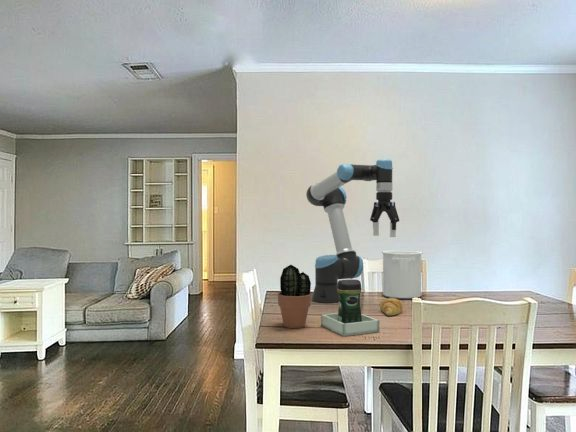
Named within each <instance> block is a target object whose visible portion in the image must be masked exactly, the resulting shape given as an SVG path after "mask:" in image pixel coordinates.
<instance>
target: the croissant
mask: <svg viewBox="0 0 576 432" xmlns="http://www.w3.org/2000/svg"><path fill="white" fill-rule="evenodd" d="M379 308H380V310H381V312H383V313H384V314H385V315H386V316H389V317H390V316H396V315H399V314H402V311H403V305H402V301H400V299H396V298H386V299H384V300H382V301H381V303H379Z"/></svg>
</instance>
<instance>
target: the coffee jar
mask: <svg viewBox="0 0 576 432" xmlns="http://www.w3.org/2000/svg"><path fill="white" fill-rule="evenodd" d="M362 290H363V289H362V284H361V281H360V280H358V279H338V286H337V291H338V294H339V302H338V310H337V313H338V319H337V321H340V322H342V323H344V324H346V323H355V322H362V316H361V314H362V310H361V309H362V308H361V294H362Z"/></svg>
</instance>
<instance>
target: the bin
mask: <svg viewBox="0 0 576 432" xmlns="http://www.w3.org/2000/svg"><path fill="white" fill-rule="evenodd" d="M361 316H362V322H355V323H346V324H344V323H342V322H340V321H337V319H338V312H335V313H334V312H333V313H327V314H326V313H324V314H321V315H320V326H321V327H323V328H324V329H327V330H329V331H331V332H333V333H336V334H338V335H340V336H342V337H349V336H357V335H366V334H367V335H368V334H373V333H374V334H375V333H380V320H379V319H378V318H375V317H371V316H368V315H366V314H363V313H361Z"/></svg>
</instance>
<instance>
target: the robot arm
mask: <svg viewBox="0 0 576 432" xmlns="http://www.w3.org/2000/svg"><path fill="white" fill-rule="evenodd" d="M375 162H376V163H375V164H372V165H371V164H369V165H368V164H354V163H353V164H351V163H343V164H340V165H338V167H337V169H336V172H334V173H332V174H330V175H329V176H327V177H326V178H324V179H322V180H321V181H319V182H315V183H313V184H312V185H310V186H309V187H308V188H307V190H306V192H305V193H306V194H305V196H306V199H307V201H308V203H310V204H311V205H313V206H314V207H323V211H324V212H325V213H327V217H328V222H329V224H330V229H331V234H332V237H333V241H334V246H335V251H336V253H335V254H324V255H321V256H318V257H316V259H315V262H314V263H315V265H314V268H315V286H314V289H313V292H312V294H311V302H312V301H313V302H316V303H320V304H321V303H325V304H333V303H339V294H338V291H337V286H338V281H339V280H354V279H357V278H359V277H360V276H361V275H362V273H363V270H364V261H363V259H362V258H361V256H359V255H357V251H356V250H354V249H353V246H352V242H351V239H350V235H349V230H348V227H347V223H346V219H345V214H344V211H343V209H344V208H345V205H346V203H347V198H348V197H347V192H346V190H345V189H344V188H343V187H342V186H344V185H346V184H348V183H349V182H351V181H364V182H373V181H375V184H376V185H375V186H376V193H375V196H376V197H375V199H376V201H374V202H373V208H372V211H371V215H370V218H369V220H370V222H372V230H373V233H372V236H373V237H376V236H379V235H380V234H379V229H380V227H379V226H380V225H379V224H380V223H379V220H380V217H381V216H382V214H383V212H385V214H386V215H387V216H388V219H389V221H390V222H389V237H390V238H396V235H397V233H396V232H397V223H399V222H400V217H399V215H398V210H397V207H396V202H395V201H392V200H393V169H394V168H393V161H392V159H388V158H386V159H385V158H384V159H383V158H382V159H377V160H376V161H375Z"/></svg>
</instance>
